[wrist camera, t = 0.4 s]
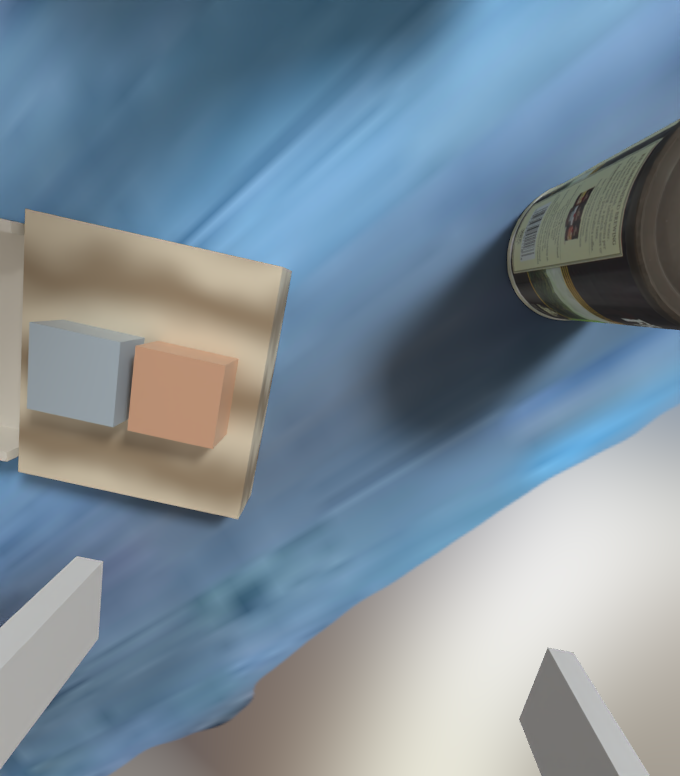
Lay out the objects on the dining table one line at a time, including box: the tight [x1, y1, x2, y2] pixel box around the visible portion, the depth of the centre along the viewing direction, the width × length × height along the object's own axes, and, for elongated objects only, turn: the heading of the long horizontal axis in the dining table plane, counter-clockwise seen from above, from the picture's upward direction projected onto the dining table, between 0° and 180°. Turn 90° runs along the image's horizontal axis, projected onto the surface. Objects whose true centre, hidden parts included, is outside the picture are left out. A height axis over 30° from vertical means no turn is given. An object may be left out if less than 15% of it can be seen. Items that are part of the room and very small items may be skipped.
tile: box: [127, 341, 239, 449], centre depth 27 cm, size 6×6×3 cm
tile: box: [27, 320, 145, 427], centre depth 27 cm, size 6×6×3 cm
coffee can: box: [507, 119, 680, 330], centre depth 23 cm, size 10×10×14 cm
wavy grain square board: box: [18, 209, 292, 519], centre depth 31 cm, size 20×18×4 cm
